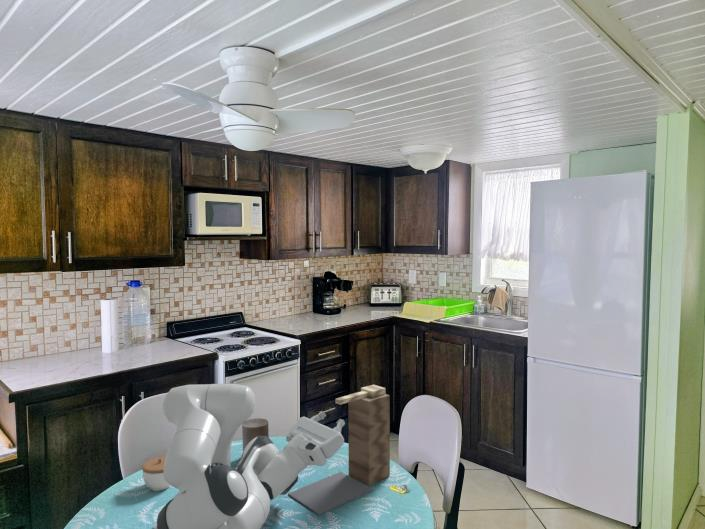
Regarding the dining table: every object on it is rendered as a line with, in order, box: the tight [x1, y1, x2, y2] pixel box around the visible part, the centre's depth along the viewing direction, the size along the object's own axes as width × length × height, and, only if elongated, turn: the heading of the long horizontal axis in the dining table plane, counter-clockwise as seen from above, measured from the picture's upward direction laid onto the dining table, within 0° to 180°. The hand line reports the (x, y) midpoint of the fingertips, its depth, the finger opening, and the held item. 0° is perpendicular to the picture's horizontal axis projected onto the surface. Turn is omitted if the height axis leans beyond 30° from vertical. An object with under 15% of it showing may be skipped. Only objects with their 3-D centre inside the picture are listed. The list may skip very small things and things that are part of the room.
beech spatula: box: [334, 384, 386, 405], centre depth 161 cm, size 19×6×2 cm, turn 132°
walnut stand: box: [347, 390, 391, 487], centre depth 164 cm, size 10×10×28 cm
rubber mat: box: [287, 471, 374, 516], centre depth 153 cm, size 22×16×1 cm
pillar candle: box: [241, 417, 270, 453], centre depth 178 cm, size 10×10×15 cm
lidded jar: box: [141, 455, 171, 492], centre depth 158 cm, size 11×11×9 cm
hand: (333, 416), depth 151 cm, fingers open, 8 cm apart
